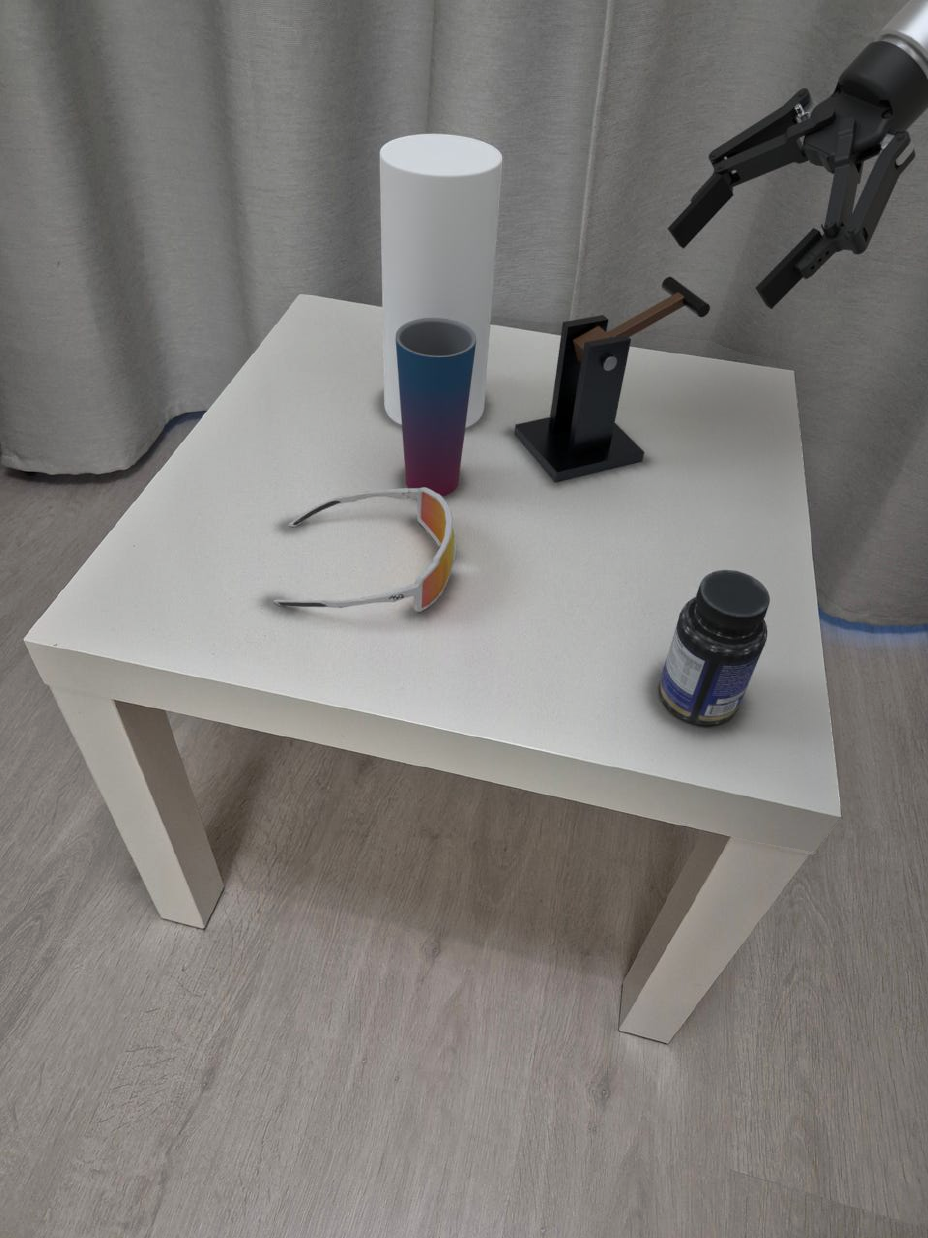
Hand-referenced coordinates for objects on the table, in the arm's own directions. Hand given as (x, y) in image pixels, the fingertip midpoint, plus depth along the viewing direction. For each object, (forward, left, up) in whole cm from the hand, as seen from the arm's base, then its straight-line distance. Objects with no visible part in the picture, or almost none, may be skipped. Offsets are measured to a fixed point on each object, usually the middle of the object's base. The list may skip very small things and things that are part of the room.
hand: (716, 267), depth 81 cm
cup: (+14, +25, -17) cm, 33 cm away
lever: (+4, +7, -5) cm, 9 cm away
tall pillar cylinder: (+22, +14, -17) cm, 31 cm away
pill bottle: (-18, +34, -17) cm, 42 cm away
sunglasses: (+11, +38, -17) cm, 43 cm away
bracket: (+6, +11, -17) cm, 21 cm away
